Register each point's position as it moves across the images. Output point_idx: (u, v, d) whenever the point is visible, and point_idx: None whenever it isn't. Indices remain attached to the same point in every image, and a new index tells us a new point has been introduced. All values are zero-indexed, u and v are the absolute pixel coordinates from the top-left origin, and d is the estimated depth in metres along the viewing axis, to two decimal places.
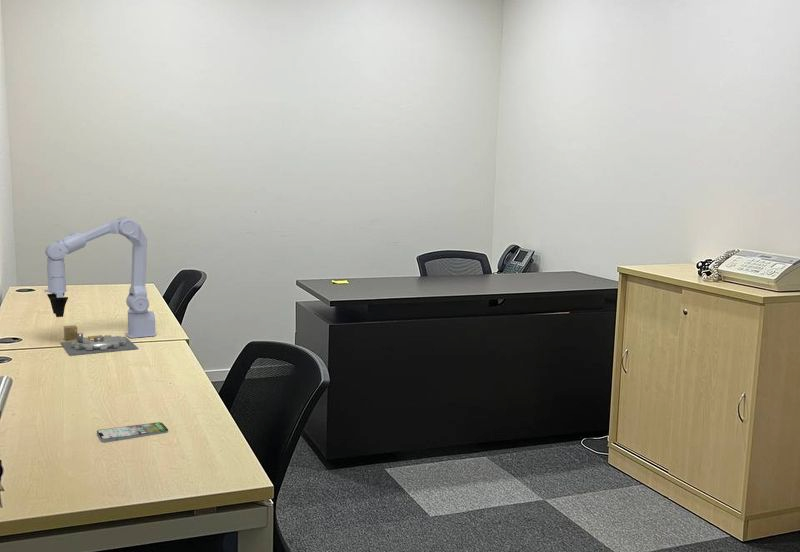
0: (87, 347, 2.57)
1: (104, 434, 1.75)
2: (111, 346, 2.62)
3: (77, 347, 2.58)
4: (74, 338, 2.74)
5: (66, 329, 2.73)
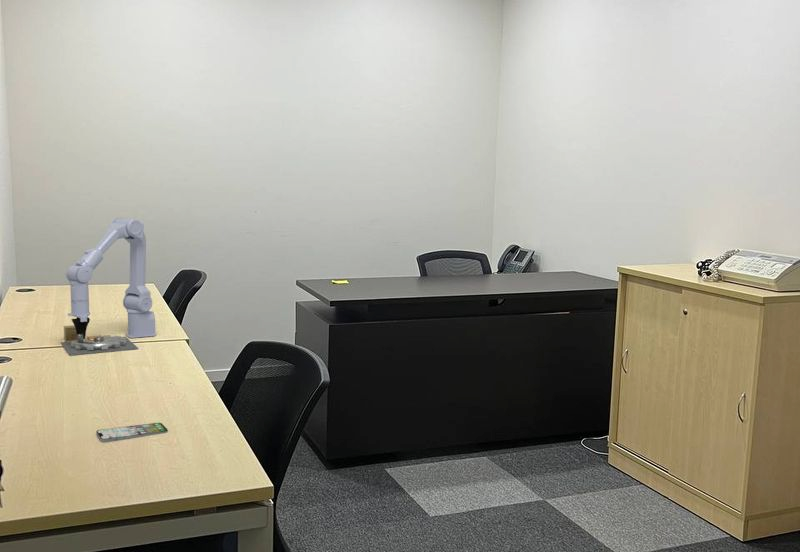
0: (88, 347, 2.57)
1: (104, 434, 1.75)
2: (112, 346, 2.62)
3: (78, 347, 2.58)
4: (74, 338, 2.74)
5: (66, 329, 2.73)
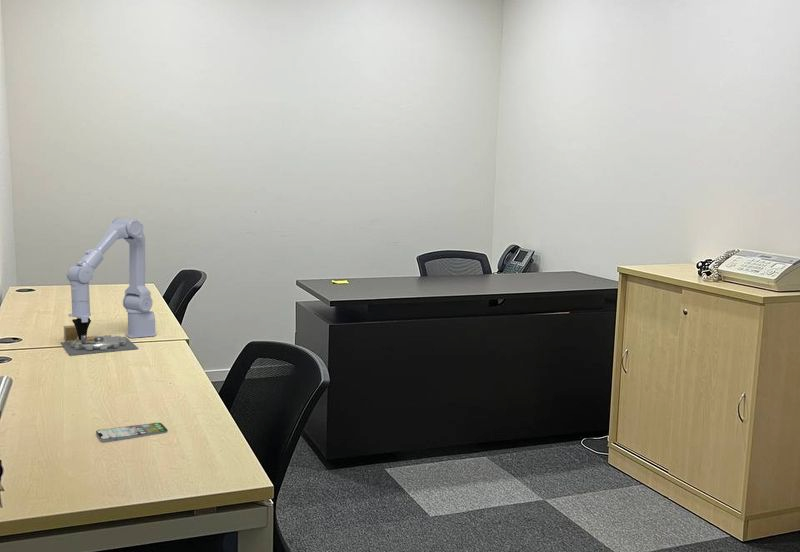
0: (102, 347, 2.58)
1: (103, 434, 1.75)
2: (119, 344, 2.65)
3: (89, 348, 2.57)
4: (74, 338, 2.74)
5: (66, 329, 2.73)
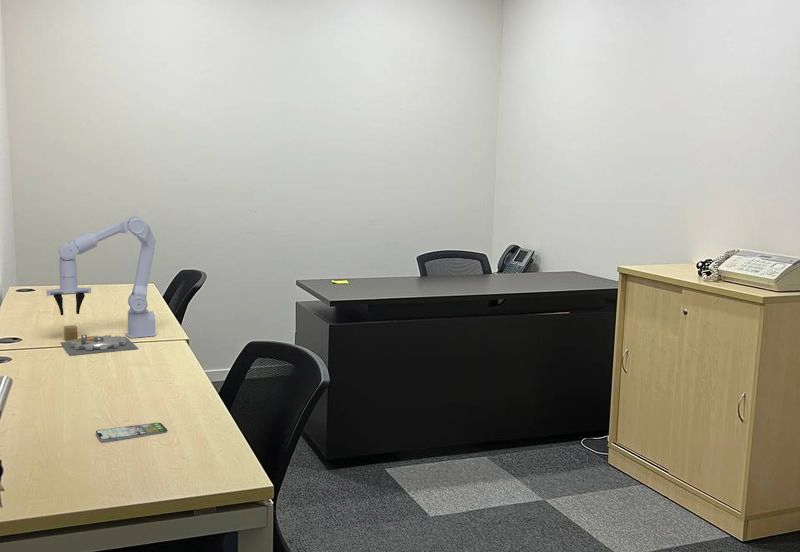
0: (102, 347, 2.58)
1: (103, 434, 1.75)
2: (119, 344, 2.65)
3: (89, 348, 2.57)
4: (74, 338, 2.74)
5: (66, 329, 2.73)
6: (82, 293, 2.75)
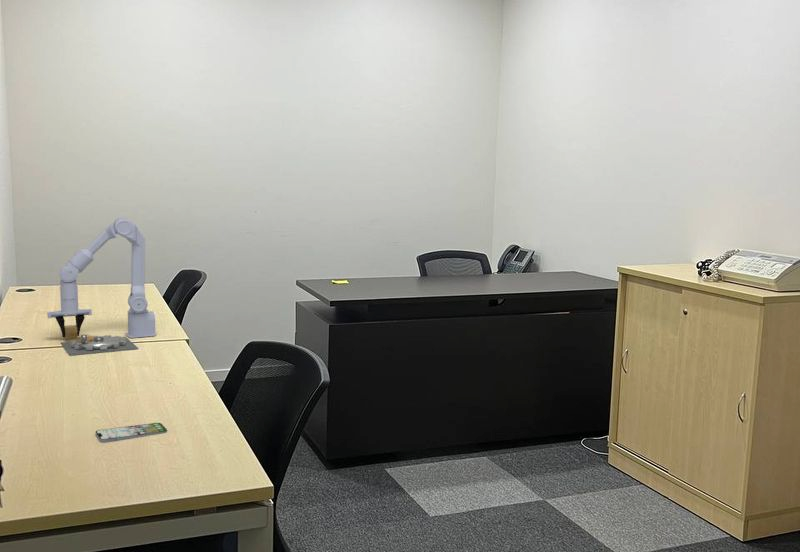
0: (102, 347, 2.58)
1: (103, 434, 1.75)
2: (119, 344, 2.65)
3: (89, 348, 2.57)
4: (74, 338, 2.74)
5: (66, 329, 2.73)
6: (83, 315, 2.76)
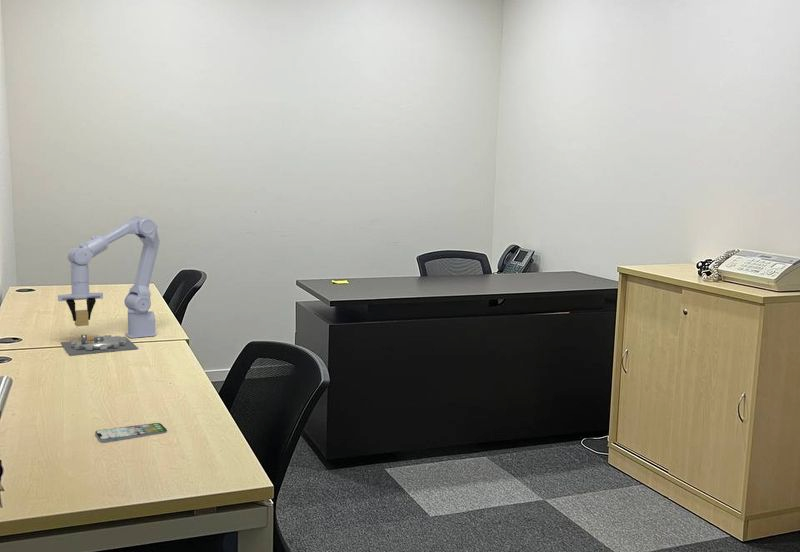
0: (102, 347, 2.58)
1: (103, 434, 1.75)
2: (119, 344, 2.65)
3: (89, 348, 2.57)
4: (85, 323, 2.69)
5: (77, 313, 2.67)
6: (94, 298, 2.70)
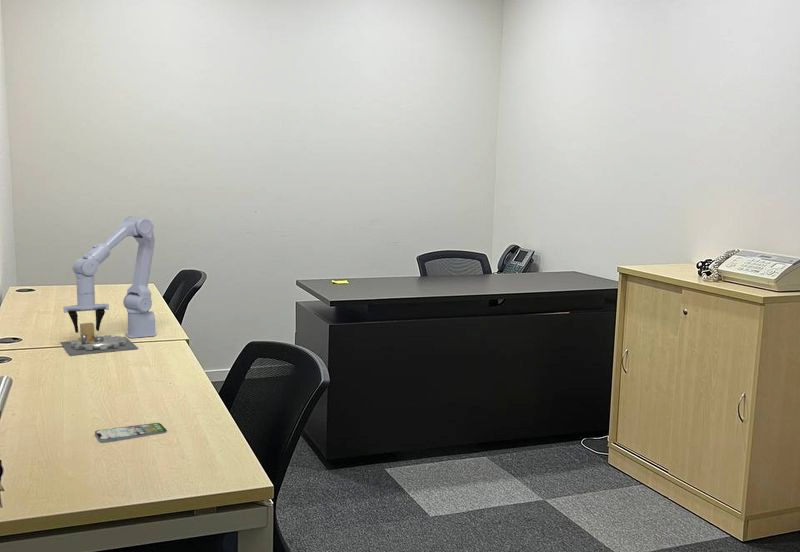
0: (102, 347, 2.58)
1: (102, 435, 1.75)
2: (119, 344, 2.65)
3: (89, 348, 2.57)
4: (91, 336, 2.67)
5: (83, 327, 2.65)
6: (100, 309, 2.69)
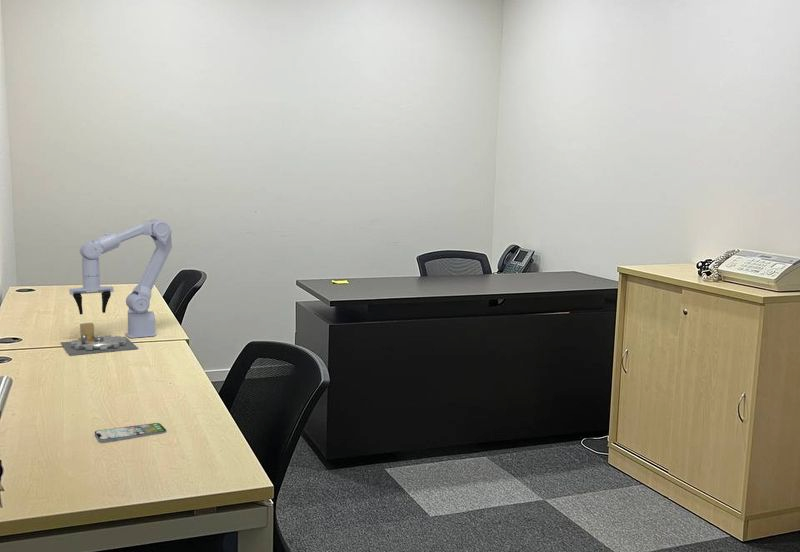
0: (102, 347, 2.58)
1: (102, 435, 1.75)
2: (119, 344, 2.65)
3: (89, 348, 2.57)
4: (91, 336, 2.67)
5: (83, 327, 2.65)
6: (105, 292, 2.75)
